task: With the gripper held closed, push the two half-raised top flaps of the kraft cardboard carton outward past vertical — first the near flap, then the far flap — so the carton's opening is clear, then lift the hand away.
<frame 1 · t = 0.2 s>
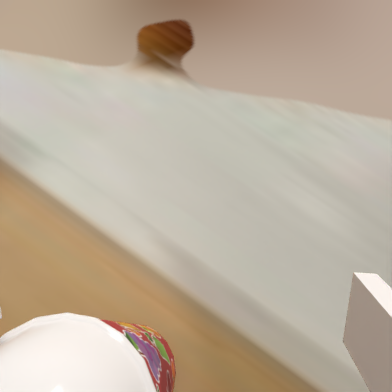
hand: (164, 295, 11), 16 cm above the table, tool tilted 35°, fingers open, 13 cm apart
smoothie: (135, 369, 24), on the table
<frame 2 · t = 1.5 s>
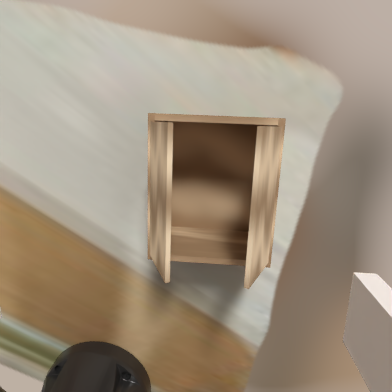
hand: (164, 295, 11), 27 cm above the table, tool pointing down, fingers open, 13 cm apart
carton: (213, 177, 37), on the table
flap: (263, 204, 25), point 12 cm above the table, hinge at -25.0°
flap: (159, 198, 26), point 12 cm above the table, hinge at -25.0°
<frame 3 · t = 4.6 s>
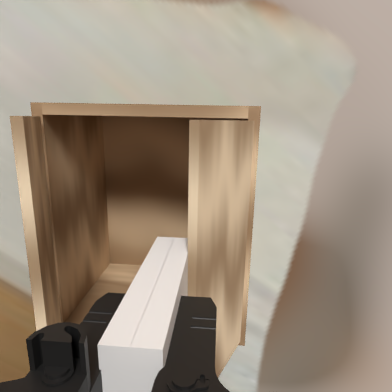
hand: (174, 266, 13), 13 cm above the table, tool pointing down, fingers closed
carton: (170, 195, 26), on the table
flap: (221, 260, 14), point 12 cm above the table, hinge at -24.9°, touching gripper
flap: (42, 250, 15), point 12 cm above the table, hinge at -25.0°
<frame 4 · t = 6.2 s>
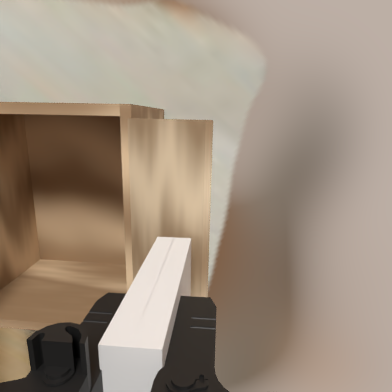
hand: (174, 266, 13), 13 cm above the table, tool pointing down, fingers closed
carton: (96, 192, 27), on the table
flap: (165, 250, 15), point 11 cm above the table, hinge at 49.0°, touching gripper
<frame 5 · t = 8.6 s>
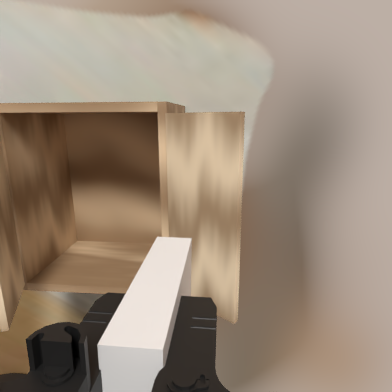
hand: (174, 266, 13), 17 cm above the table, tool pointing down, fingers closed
carton: (125, 180, 30), on the table
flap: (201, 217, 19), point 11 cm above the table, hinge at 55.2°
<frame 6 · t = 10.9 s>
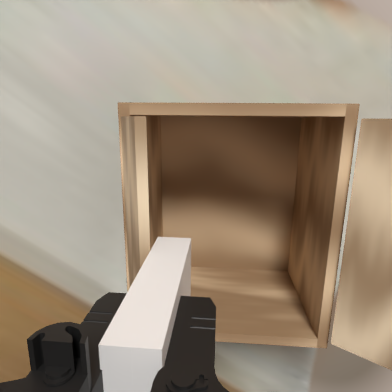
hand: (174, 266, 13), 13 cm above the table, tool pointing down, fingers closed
carton: (226, 195, 26), on the table
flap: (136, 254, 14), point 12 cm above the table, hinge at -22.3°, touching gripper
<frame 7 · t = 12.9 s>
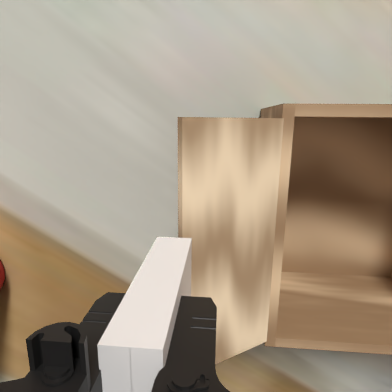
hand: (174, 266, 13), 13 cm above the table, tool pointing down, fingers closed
carton: (330, 198, 25), on the table
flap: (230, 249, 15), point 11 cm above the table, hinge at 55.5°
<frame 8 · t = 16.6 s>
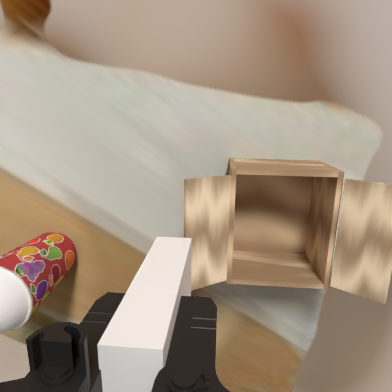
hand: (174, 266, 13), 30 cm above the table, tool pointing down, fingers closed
carton: (269, 208, 44), on the table
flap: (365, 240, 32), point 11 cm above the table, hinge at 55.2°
smoothie: (59, 249, 48), on the table
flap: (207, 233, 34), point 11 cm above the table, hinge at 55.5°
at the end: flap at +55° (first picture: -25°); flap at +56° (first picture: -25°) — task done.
